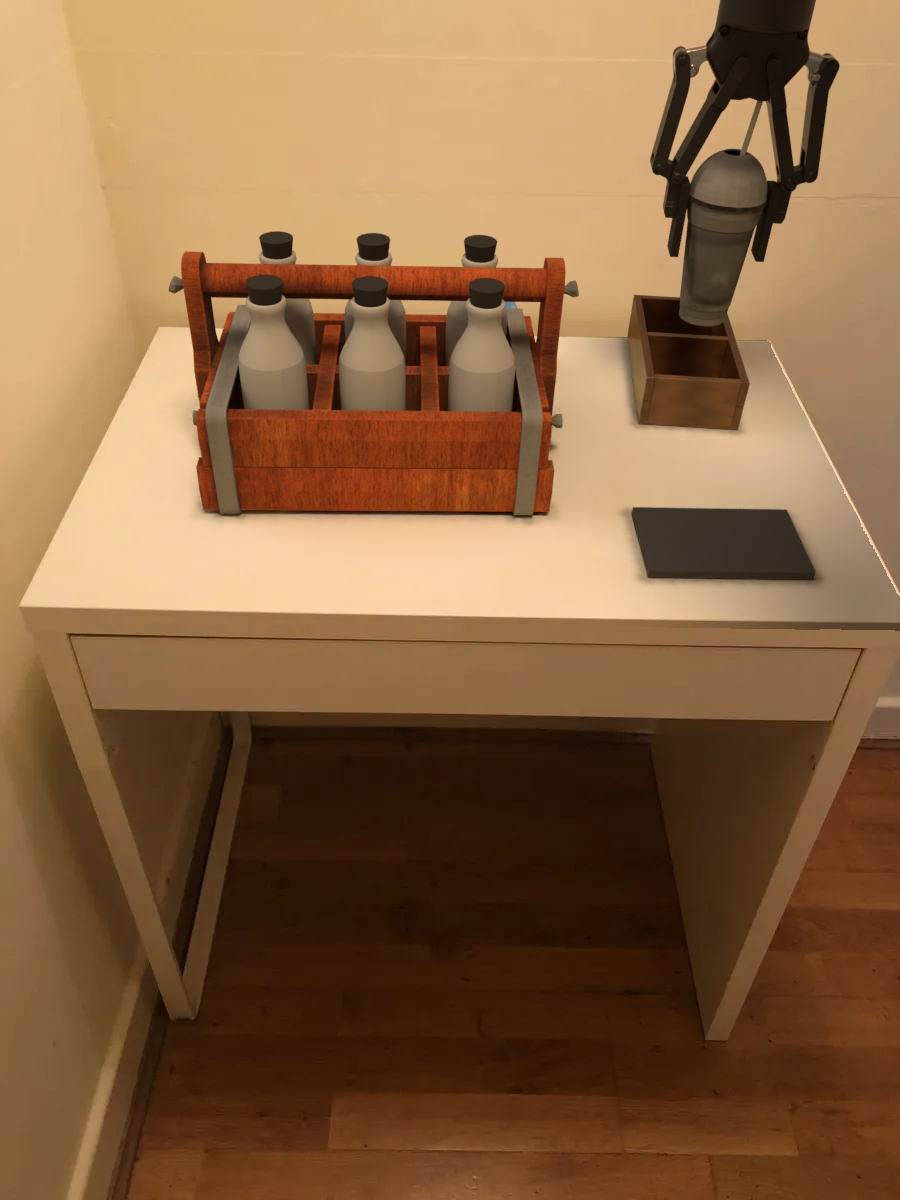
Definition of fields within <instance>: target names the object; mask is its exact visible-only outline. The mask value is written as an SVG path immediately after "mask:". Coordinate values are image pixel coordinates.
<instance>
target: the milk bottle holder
mask: <svg viewBox="0 0 900 1200" xmlns="http://www.w3.org/2000/svg"><path fill="white" fill-rule="evenodd" d="M258 239H259V243H260V247H261V251H260V253H259V254H258V260H259V262H260V263H243V262H242V263H241V262H239V263H238V262H237V263H236V262H235V263H233V262H207V259H206V255H205V252H204V251H184V252H183V254H182V257H181V260H180V261H181V262H180V273H181V278H180V277H179V276H176V275H173V276H172V278H171V280H170V282H169V285H168V292H170V293H172V294H176V293H178V292H180V291H182V290H183V294H184V300H185V305H186V306H185V307H186V314H187V320H188V327H189V332H190V338H191V344H192V345H191V346H192V350H193V355H192V356H193V371H194V378H195V384H196V385H195V386H196V391H197V398H198V403H199V408H198V409H197V410H193V411H192V417H191V418H192V423H193V425H194V426H196V432H197V439H198V445H199V450H200V455H201V456H199V457H198V459H197V462H196V467H195V469H196V474H197V475H196V476H197V483H198V489H199V490H198V491H199V495H200V500H201V504H202V505H201V506H202V509H203V511H219V513H220V514H221V515H222V514H225V515H226V514H228V515H230V514H231V515H234V514H235V515H236V514H237V515H238V514H239V515H240V514H241V513H242V511H349V512H350V511H351V512H352V511H353V512H354V511H355V512H356V511H357V512H361V511H362V512H365V511H366V512H371V511H372V512H512V514H513V516H533V515H534V512H535V513H536V512H538V513H540V512H541V513H542V512H543V513H544V512H547V513H549V512H550V509H551V502H552V496H553V487H554V476H555V467H554V461H553V459H550V450H551V444H552V443H551V442H552V431H553V427H554V428H555V429H563V425H564V424H563V422H564V418H563V417H564V416H563V414H562V413H556V414H554V415H553V409H554V400H555V393H556V391H555V390H556V382H557V373H558V372H557V369H558V351H559V342H560V341H559V340H560V331H561V323H562V315H563V314H562V313H563V304H564V298H565V297H564V295H567V296H569V297H571V298H577V297H580V291H579V285H578V282H577V281H576V280H571V281H568V283H567V284H566V263H565V259H564V257H544V261H543V267H497V266H498V264H499V257H498V256H497V254H496V249H497V246H498V240H497V239H496V238H495V237H493V236H490V235H486V234H473V235H469V236H466V237H465V238H464V240H463V243H464V244H463V247H464V253H463V254H462V256H461V260H460V261H461V265H462V266H433V265H432V266H428V265H427V266H426V265H423V266H422V265H417V266H416V265H392V263H393V256H392V254H391V253H390V245H391V238H390V237H389V236H388V235H387V234H383V233H379V232H378V233H377V232H367V233H363V234H360V235H358V236H357V238H356V244H357V251H358V252H357V253H356V255H355V257H354V260H355V262H356V264H309V263H308V264H306V263H305V264H304V263H302V264H301V263H300V264H299V263H297V264H296V262H297V255H296V252H295V251H294V250H293V245H294V236H293V235H292V234H291V233H289V232H286V231H280V230H277V231H268V232H264V233H262V234H260V235H259V237H258ZM212 298H217V299H218V298H219V299H220V298H221V299H223V298H224V299H225V298H226V299H228V298H229V299H245V304H237V305H236V308H235V311H229V313H227V315H226V318H225V322H224V325H223V328H222V331H221V334H220V338H218V334H217V331H216V322H215V314H214V308H213V301H212ZM311 300H347V302H346V305H345V307H344V313H343V312H342V313H340V312H339V313H337V312H335V313H334V312H333V313H332V312H330V313H329V312H314V309H313V306H312V305H313V304H312V302H311ZM402 301H426V302H427V301H431V302H433V301H435V302H450V303H449V305H448V308H447V310H446V311H447V312H446V314H416V313H415V314H413V313H412V314H410V313H409V314H408V313H406V309H405V307H404V304H403V302H402ZM505 302H515V303H539V309H538V310H539V311H538V322H537V323H538V324H537V331H536V332H537V333H536V338H535V333H534V328H533V323H532V318H531V315H524V311H523V310H524V309H523V308H518V309H511V308H506V305H505Z"/></svg>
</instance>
